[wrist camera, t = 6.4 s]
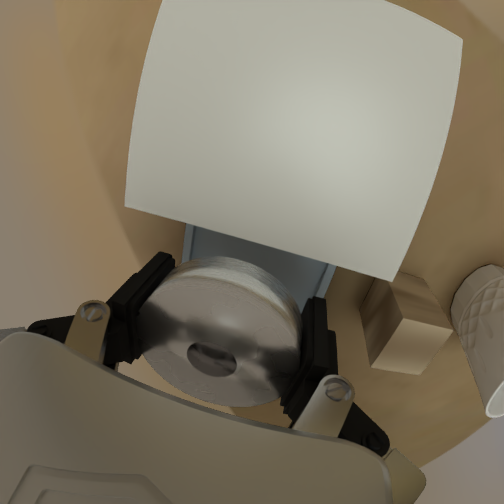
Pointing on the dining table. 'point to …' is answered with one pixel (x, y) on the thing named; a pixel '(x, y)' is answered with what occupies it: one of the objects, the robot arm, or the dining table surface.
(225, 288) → the disc
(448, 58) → the housing
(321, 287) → the blue-grey open box
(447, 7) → the dining table surface
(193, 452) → the robot arm
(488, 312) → the white cup
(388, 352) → the beige block
